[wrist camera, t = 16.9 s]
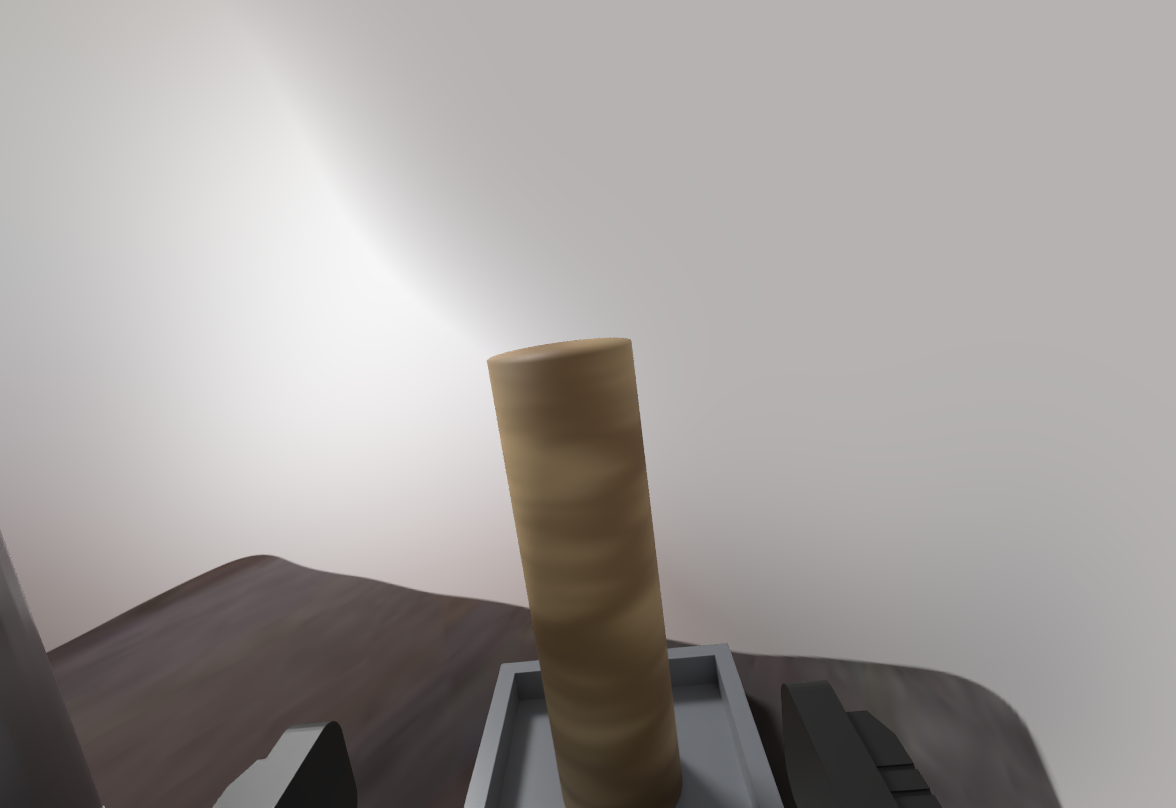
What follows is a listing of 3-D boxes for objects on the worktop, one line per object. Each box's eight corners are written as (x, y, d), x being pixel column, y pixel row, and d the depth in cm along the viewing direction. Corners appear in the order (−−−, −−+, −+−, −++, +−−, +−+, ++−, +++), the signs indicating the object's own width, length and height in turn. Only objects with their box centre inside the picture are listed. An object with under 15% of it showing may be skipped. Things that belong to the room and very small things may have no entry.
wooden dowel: (589, 862, 20) (507, 369, 16) (545, 761, 25) (473, 357, 21) (706, 800, 22) (658, 341, 18) (645, 715, 26) (596, 335, 23)
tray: (812, 943, 18) (809, 883, 17) (450, 967, 18) (437, 909, 18) (730, 684, 29) (727, 643, 28) (508, 703, 30) (501, 663, 29)
